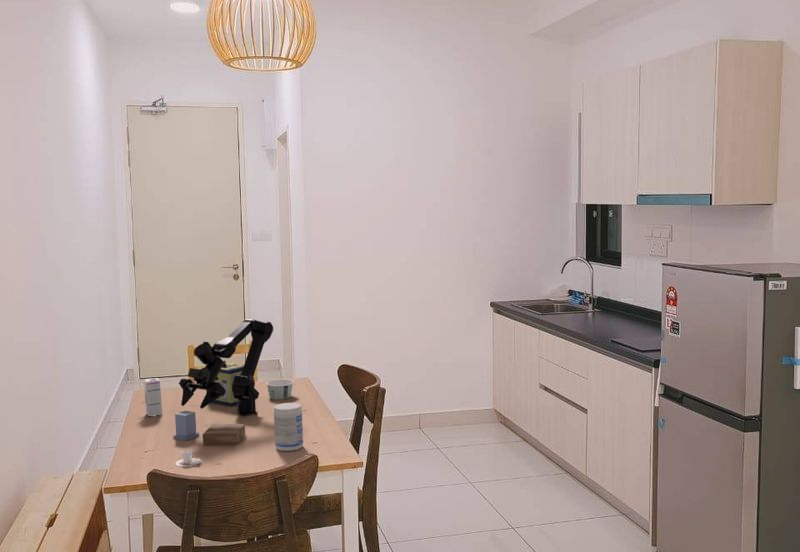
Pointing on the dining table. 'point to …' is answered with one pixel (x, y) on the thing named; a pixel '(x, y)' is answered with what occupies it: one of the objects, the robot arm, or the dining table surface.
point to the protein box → (228, 383)
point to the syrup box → (153, 396)
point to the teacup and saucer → (188, 459)
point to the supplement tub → (288, 426)
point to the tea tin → (185, 426)
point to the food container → (280, 388)
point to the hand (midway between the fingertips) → (191, 406)
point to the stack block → (224, 434)
